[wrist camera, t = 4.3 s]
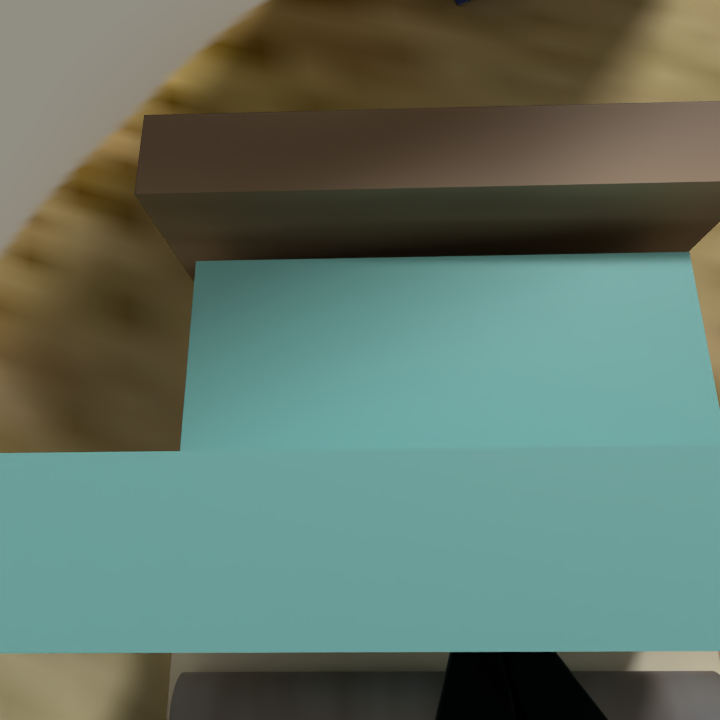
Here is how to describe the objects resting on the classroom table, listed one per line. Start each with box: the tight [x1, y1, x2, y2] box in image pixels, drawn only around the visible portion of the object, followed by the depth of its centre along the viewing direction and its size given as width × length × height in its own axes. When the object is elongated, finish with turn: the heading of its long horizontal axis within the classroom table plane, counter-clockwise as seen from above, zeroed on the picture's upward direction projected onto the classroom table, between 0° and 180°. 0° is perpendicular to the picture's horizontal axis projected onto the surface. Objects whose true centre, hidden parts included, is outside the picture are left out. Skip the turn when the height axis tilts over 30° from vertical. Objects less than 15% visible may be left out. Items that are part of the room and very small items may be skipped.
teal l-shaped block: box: [0, 252, 720, 653], centre depth 10 cm, size 7×11×9 cm, turn 90°
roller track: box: [135, 101, 720, 720], centre depth 13 cm, size 18×13×6 cm
